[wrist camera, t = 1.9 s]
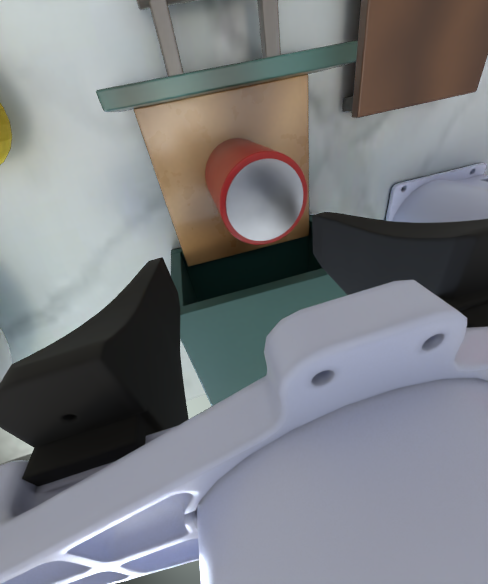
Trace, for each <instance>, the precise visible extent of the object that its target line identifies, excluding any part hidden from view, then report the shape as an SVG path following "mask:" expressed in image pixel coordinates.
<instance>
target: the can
mask: <svg viewBox="0 0 488 584" xmlns="http://www.w3.org/2000/svg"><path fill="white" fill-rule="evenodd" d="M205 179H206V184H207V188H208V190H209V192H210V194H211V196H212V199H213V201H214V203H215V205H216V207H217V209H218V212H219V214H220V216H221V218H222V220H223V222H224V224H225V226H226V228H227V229H228V230H229V232H230V233H231V234H232V235H233V236H234V237H236V238H237V239H239V240H241V241H243V242H245V243H248V244H253V245H265V244H270V243H273V242H275V241H278V240H280V239H281V238H283V237H285V236H286V235H287V234H289V233H290V232H291V231H292V230H293V229H294V227H295V226H296V225H297V224H298V222H299V221H300V219H301V217H302V215H303V213H304V210H305V207H306V203H307V194H308V191H307V183H306V179H305V176H304V174H303V172H302V170H301V168H300V167H299V165H298V164H297V163H296V162H295V161H294V160H293V159H292V158H290V157H289V156H287V155H285V154H283V153H280V152H278V151H275V150H273V149H270V148H268V147H265V146H262V145H260V144H257V143H255V142H252V141H250V140H247V139H242V138H233V139H229V140H226V141H224V142H222V143H221V144H219V145H218V146H217V147H216V148H215V149H214V150H213V152H212V153H211V155H210V156H209V159H208V161H207V164H206V169H205Z"/></svg>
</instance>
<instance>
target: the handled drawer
mask: <svg viewBox="0 0 488 584" xmlns="http://www.w3.org/2000/svg"><path fill="white" fill-rule="evenodd" d="M191 1H197V0H137V4H138V7H139V9H140V10H144V9H150V10H151V14H152V17H153V21H154V25H155V29H156V33H157V36H158V40H159V44H160V48H161V52H162V55H163V59H164V63H165V67H166V71H167V75H168V77H163V78H158V79H153V80H147V81H142V82H137V83H132V84H127V85H121V86H116V87H111V88H106V89H100V90H97V91H96V93H97V96H98V98H99V101H100V103H101V105H102V108H103V110H104V111H105V112H121V111H126V110H131V109H134V112H135V115H136V118H137V121H138V124H139V127H140V130H141V133H142V135H143V138H144V141H145V144H146V147H147V150H148V153H149V156H150V158H151V161H152V164H153V167H154V170H155V173H156V176H157V179H158V182H159V184H160V187H161V190H162V193H163V196H164V199H165V202H166V205H167V207H168V210H169V213H170V216H171V219H172V222H173V225H174V228H175V231H176V233H177V236H178V239H179V242H180V245H181V248H182V251H183V254H184V256H185V259H186V262H187V265H188V267H189V266H193V265H197V264H201V263H205V262H209V261H213V260H216V259H220V258H224V257H228V256H232V255H236V254H240V253H243V252H247V251H251V250H255V249H259V248H263V247H267V246H270V245H274V244H278V243H282V242H286V241H290V240H294V239H298V238H301V237H305V236H309V139H308V74H310V73H315V72H319V71H323V70H327V69H331V68H335V67H338V66H342V65H346V64H350V63H354V62H355V61H356V58H357V46H358V41H351V42H345V43H340V44H335V45H330V46H325V47H319V48H314V49H309V50H304V51H299V52H293V53H288V54H283V55H281V53H280V34H279V15H278V0H257V1H258V13H259V24H260V36H261V48H262V59H257V60H252V61H246V62H241V63H236V64H231V65H226V66H220V67H215V68H210V69H205V70H200V71H194V72H189V73H183V68H182V64H181V60H180V55H179V51H178V47H177V43H176V38H175V34H174V30H173V25H172V21H171V17H170V12H169V8H168V5H173V4H179V3H185V2H191ZM233 138H242V139H247V140H250V141H252V142H255V143H257V144H260V145H262V146H265V147H268V148H270V149H273V150H275V151H278V152H280V153H283V154H285V155H287V156H289V157H290V158H292V159H293V160H294V161H295V162H296V163H297V164H298V165H299V167H300V168H301V170H302V172H303V174H304V176H305V179H306V183H307V191H308V194H307V203H306V207H305V210H304V213H303V215H302V217H301V219H300V221H299V222H298V224H297V225H296V226H295V227H294V229H293V230H292V231H291V232H290V233H289V234H287V235H286V236H285V237H283V238H281V239H280V240H278V241H275V242H273V243H270V244H265V245H253V244H248V243H245V242H243V241H241V240H239V239H237V238H236V237H234V236H233V235H232V234H231V233H230V232H229V230H228V229H227V228H226V226H225V224H224V222H223V220H222V218H221V216H220V214H219V212H218V209H217V207H216V205H215V203H214V201H213V199H212V196H211V194H210V192H209V190H208V188H207V184H206V179H205V169H206V164H207V161H208V159H209V156H210V155H211V153H212V152H213V150H214V149H215V148H216V147H217V146H218V145H219V144H221V143H222V142H224V141H226V140H229V139H233Z"/></svg>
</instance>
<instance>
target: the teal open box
mask: <svg viewBox="0 0 488 584" xmlns="http://www.w3.org/2000/svg"><path fill="white" fill-rule="evenodd" d="M312 216H313V215H310V216H309V236H305V237H301V238H298V239H294V240H290V241H286V242H282V243H278V244H274V245H270V246H267V247H263V248H259V249H255V250H251V251H247V252H243V253H240V254H236V255H232V256H228V257H224V258H220V259H216V260H213V261H209V262H205V263H201V264H197V265H193V266H189V267H188V265H187V262H186V259H185V256H184V254H183V251H182V248H179V249H175V250H171V278H172V280H173V282H174V285H175V287H176V289H177V291H178V296H179V302H180V339H181V341H182V343H183V345H184V347H185V349H186V352H187V354H188V356H189V358H190V360H191V362H192V365H193V367H194V369H195V371H196V373H197V375H198V378H199V380H200V382H201V384H202V386H203V388H204V391H205V393H206V395H207V397H208V399H209V401H210V404H211V406H213V405H215V404H217V403H218V402H220V401H222V400H224V399H226V398H227V397H229V396H231V395H233V394H234V393H236V392H238V391H240V390H241V389H243V388H245V387H247V386H248V385H250V384H252V383H254V382H255V381H257V380H259V379H261V378H262V377H264V376H266V374H267V365H266V360H265V355H264V348H265V342H266V336H267V335H268V334H269V333H270V332H271V331H272V329H273V328H274V327H275V326H276V325H277V324H278V322H279V321H280V320H281V319H283V318H285V317H287V316H289V315H291V314H293V313H295V312H297V311H299V310H301V309H304V308H307V307H311V306H314V305H317V304H321V303H324V302H327V301H330V300H334V299H337V298H340V297H344V296H347V294H346V293H345V292H344V291H343V290H342V289H341V288H340V286H339V285H338V284H337V283H336V282H335V281H334V280H333V279H332V278H331V277H330V276H329V275H328V274H327V272H326V271H325V270H324V269H323V268H322V267H321V265H320V264H319V262H318V261H317V259H316V258H315V256H314V254H313V232H312Z"/></svg>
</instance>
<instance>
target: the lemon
mask: <svg viewBox="0 0 488 584" xmlns="http://www.w3.org/2000/svg"><path fill="white" fill-rule="evenodd" d="M11 140H12V133H11V127H10V122H9V119H8V117H7V115H6V112H5V110H4V108H3V106H2V105H1V103H0V165H1V164H2V163H3V162H4V160H5V159H6V157H7V155H8V153H9V151H10V149H11Z"/></svg>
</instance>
